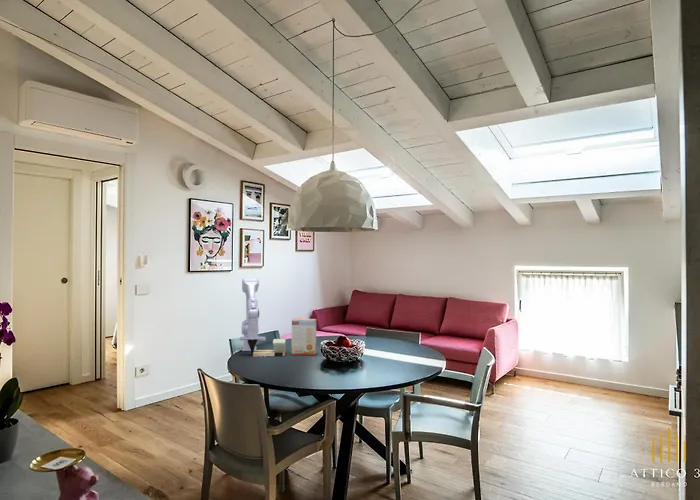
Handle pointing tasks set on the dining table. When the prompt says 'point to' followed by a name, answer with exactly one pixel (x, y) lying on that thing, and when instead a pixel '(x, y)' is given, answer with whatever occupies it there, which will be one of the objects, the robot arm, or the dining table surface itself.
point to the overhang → (279, 346)
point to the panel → (263, 353)
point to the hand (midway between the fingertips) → (252, 352)
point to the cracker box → (303, 336)
